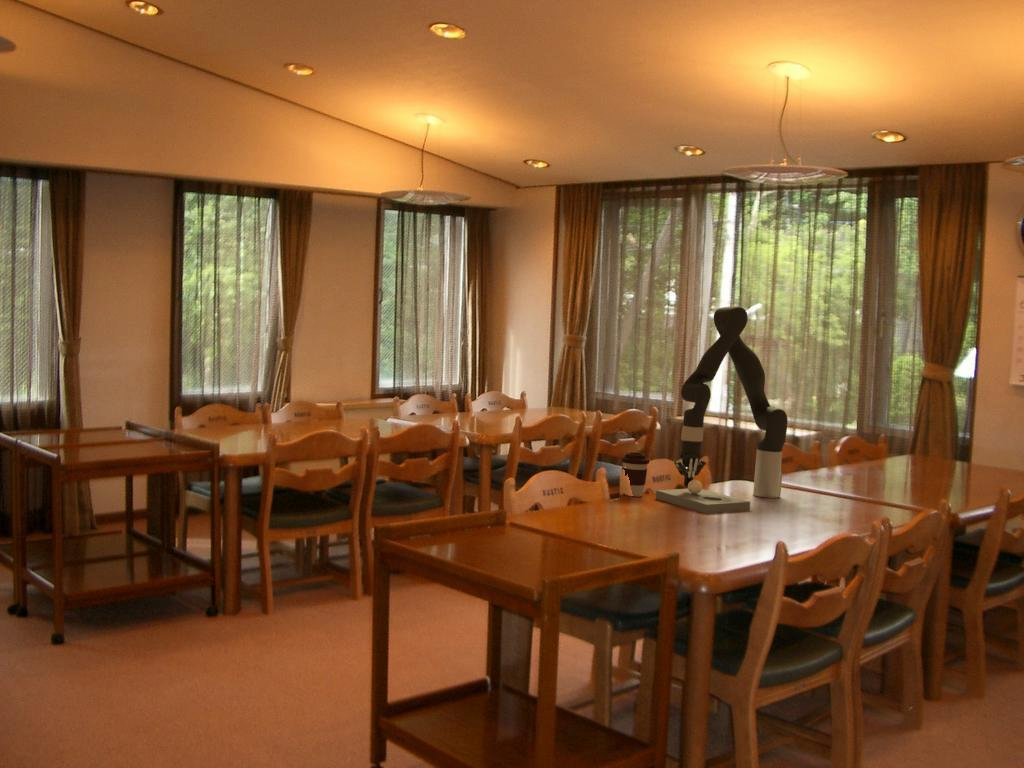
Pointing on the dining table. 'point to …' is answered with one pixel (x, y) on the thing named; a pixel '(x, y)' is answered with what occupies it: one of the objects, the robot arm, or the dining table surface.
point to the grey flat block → (703, 501)
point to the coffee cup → (636, 471)
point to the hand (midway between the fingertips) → (688, 487)
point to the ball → (695, 486)
